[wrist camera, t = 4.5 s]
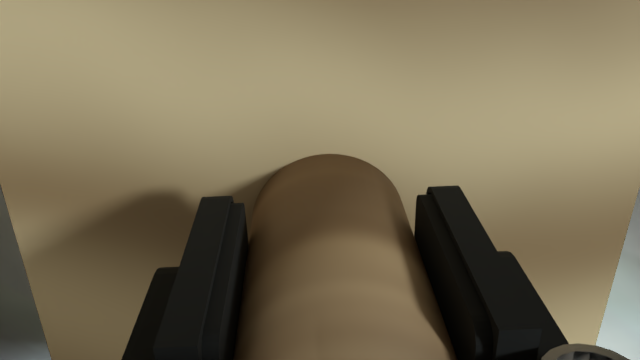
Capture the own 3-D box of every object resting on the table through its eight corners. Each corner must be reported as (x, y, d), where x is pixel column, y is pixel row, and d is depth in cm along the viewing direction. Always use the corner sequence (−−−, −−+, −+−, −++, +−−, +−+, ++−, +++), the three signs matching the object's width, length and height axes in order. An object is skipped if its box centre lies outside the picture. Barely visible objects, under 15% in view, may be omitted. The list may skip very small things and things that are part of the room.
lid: (-48, -125, 10) (-710, -169, 3) (682, -129, 10) (1344, -174, 4) (92, 408, 16) (-51, 766, 9) (553, 391, 16) (727, 723, 10)
